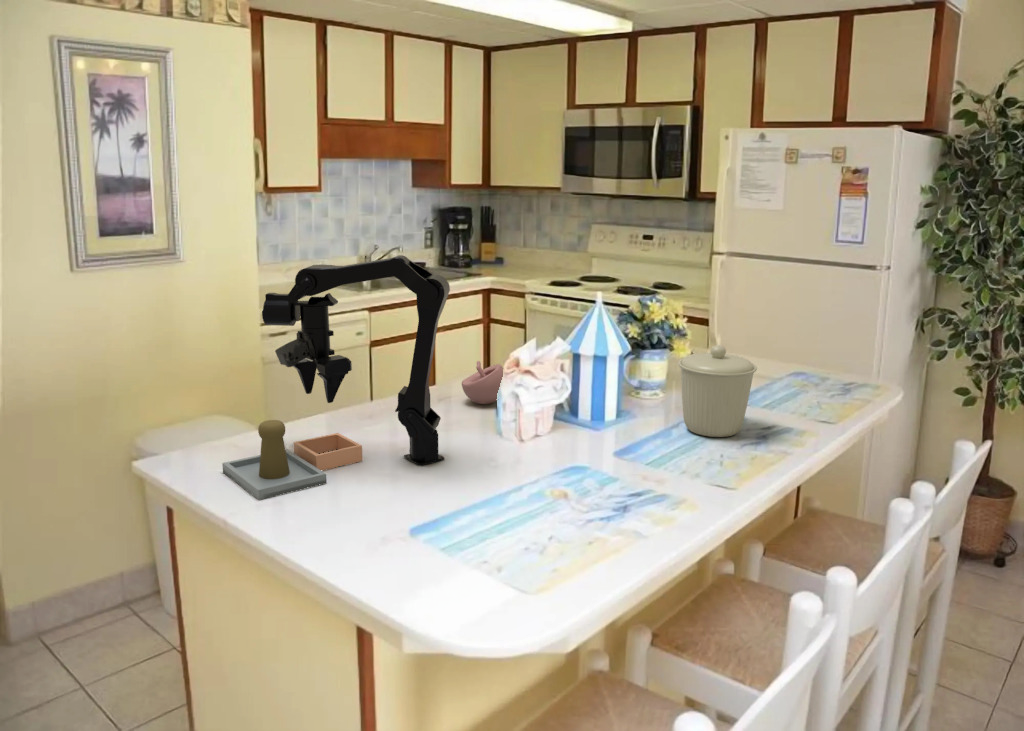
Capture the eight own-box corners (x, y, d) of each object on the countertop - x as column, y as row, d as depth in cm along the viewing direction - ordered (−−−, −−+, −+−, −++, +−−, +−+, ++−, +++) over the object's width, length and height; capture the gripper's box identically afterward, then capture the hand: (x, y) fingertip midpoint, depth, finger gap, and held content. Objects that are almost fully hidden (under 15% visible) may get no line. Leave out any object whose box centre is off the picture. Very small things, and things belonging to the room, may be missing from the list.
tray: (326, 483, 168) (326, 473, 168) (258, 500, 160) (258, 490, 159) (287, 458, 182) (286, 449, 181) (222, 472, 173) (222, 463, 173)
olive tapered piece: (274, 466, 175) (271, 415, 172) (296, 472, 172) (293, 420, 169) (252, 475, 170) (248, 422, 167) (274, 481, 167) (271, 427, 164)
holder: (362, 461, 181) (362, 445, 180) (316, 472, 174) (316, 456, 173) (338, 447, 189) (338, 432, 188) (294, 457, 182) (293, 442, 181)
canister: (716, 448, 192) (723, 357, 187) (658, 427, 206) (663, 342, 201) (767, 434, 202) (775, 348, 197) (708, 415, 217) (714, 334, 211)
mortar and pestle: (463, 396, 230) (463, 355, 227) (508, 397, 230) (508, 356, 227) (459, 409, 218) (459, 366, 216) (505, 410, 218) (506, 367, 215)
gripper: (259, 324, 179) (264, 395, 183) (301, 338, 166) (306, 415, 169) (306, 318, 186) (310, 386, 190) (351, 331, 173) (354, 404, 176)
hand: (319, 398), depth 181 cm, fingers open, 9 cm apart
